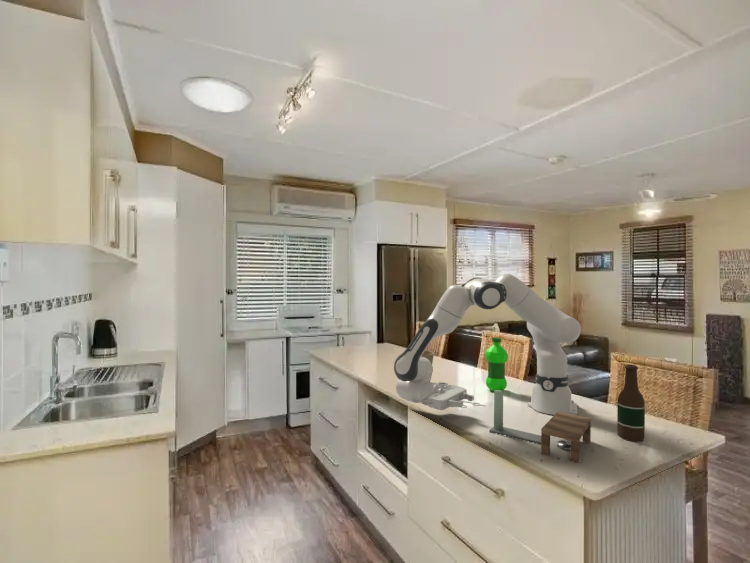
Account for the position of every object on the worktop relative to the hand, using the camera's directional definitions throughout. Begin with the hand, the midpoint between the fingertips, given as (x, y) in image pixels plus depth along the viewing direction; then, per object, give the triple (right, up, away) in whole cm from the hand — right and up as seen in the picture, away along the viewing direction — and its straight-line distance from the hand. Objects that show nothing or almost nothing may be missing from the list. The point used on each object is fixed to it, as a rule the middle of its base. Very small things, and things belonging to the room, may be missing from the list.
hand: (467, 401), depth 143 cm
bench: (+26, -8, -20) cm, 34 cm away
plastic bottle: (+24, -8, +44) cm, 51 cm away
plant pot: (-12, -8, +55) cm, 57 cm away
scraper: (+14, -8, -11) cm, 20 cm away
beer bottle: (+51, -8, -12) cm, 53 cm away
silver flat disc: (+26, -8, -20) cm, 34 cm away
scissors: (+3, -9, +27) cm, 29 cm away
